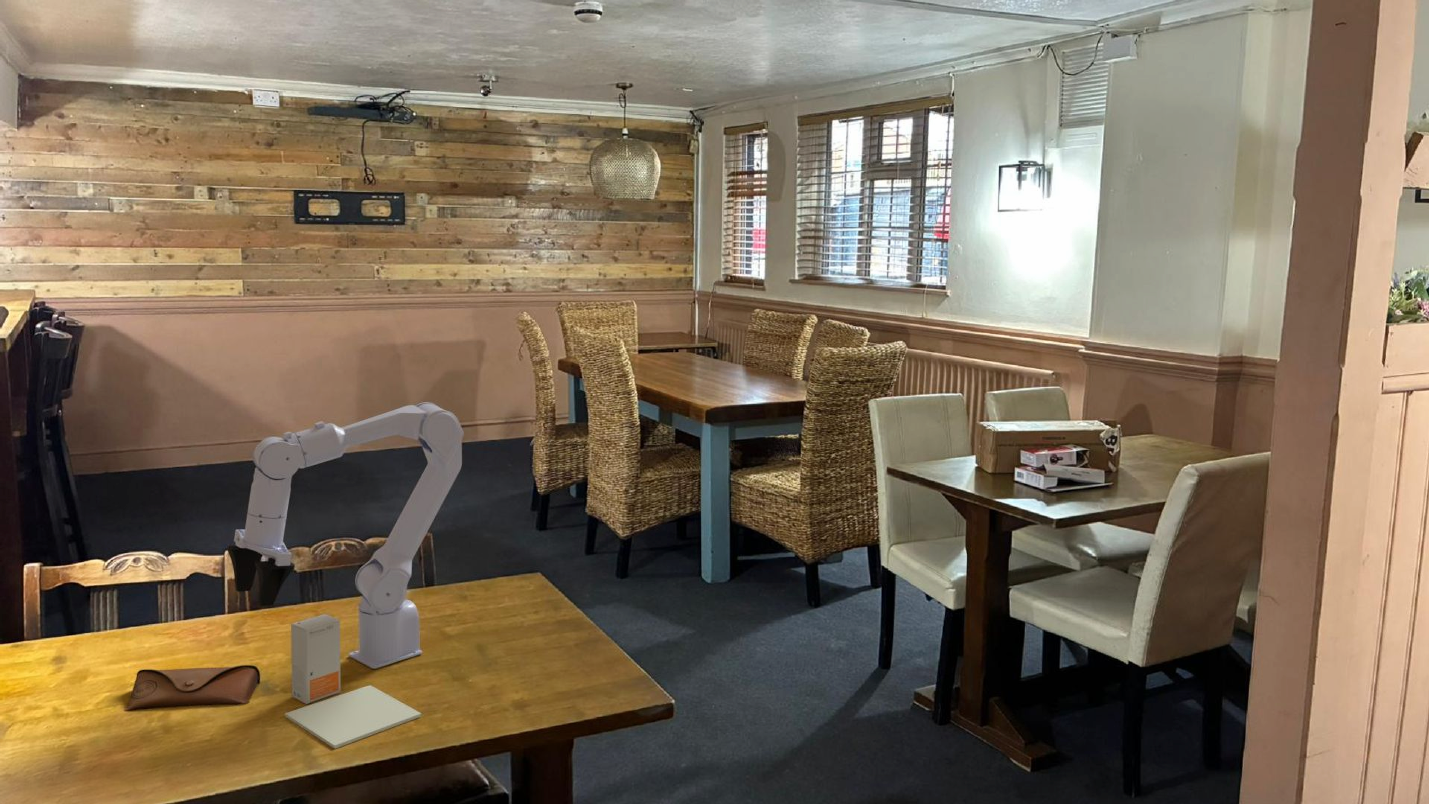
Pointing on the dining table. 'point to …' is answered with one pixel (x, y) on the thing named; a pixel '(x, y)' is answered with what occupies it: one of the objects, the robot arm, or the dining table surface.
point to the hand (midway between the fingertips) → (254, 597)
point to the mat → (352, 716)
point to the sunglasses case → (193, 687)
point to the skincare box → (315, 658)
